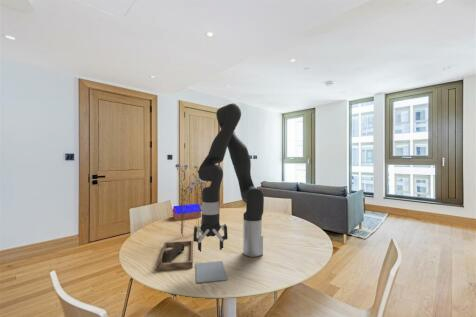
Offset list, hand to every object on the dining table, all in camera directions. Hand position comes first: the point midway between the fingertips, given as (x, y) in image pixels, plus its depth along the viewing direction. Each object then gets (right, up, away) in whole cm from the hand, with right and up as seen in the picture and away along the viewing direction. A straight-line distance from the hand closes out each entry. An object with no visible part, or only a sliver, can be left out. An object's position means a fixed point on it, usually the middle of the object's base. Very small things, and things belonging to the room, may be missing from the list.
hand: (210, 250), depth 95 cm
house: (-29, -9, +81) cm, 87 cm away
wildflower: (-17, -9, +44) cm, 48 cm away
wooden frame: (-18, -9, +15) cm, 25 cm away
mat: (0, -9, 0) cm, 9 cm away
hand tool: (-18, -12, +16) cm, 27 cm away
